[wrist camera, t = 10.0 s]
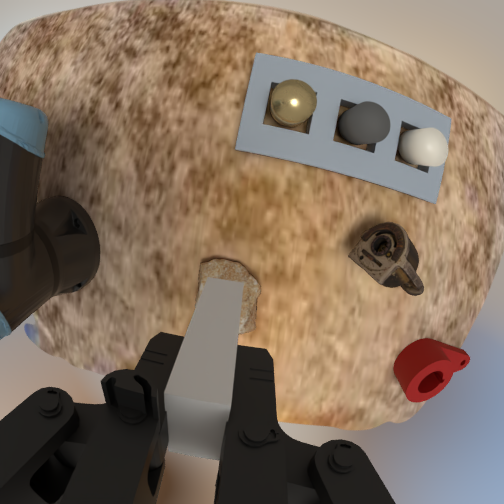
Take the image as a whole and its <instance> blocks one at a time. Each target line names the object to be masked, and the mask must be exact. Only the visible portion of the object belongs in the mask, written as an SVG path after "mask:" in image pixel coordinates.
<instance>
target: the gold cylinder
mask: <svg viewBox="0 0 504 504" xmlns="http://www.w3.org/2000/svg"><path fill="white" fill-rule="evenodd" d="M316 106H317V97H316V94H315V92H314V90H313V89H312V87H311V86H310V85H308V84H307V83H305V82H303V81H301V80H297V79H289V80H285V81H283V82H281V83H279V84H278V85H277V86H276V87H275V89H274V91H273V93H272V98H271V105H270V111H271V115H272V117H273V118H274V119H275V121H276V122H278V123H279V124H281V125H283V126H286V127H295V126H298V125H300V124H302V123H303V122H304V121H305V120H306V119H307V118H309V117H310V116H311V115H312V114H313V112H314V111H315V109H316Z"/></svg>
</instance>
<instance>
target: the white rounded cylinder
mask: <svg viewBox="0 0 504 504" xmlns="http://www.w3.org/2000/svg"><path fill="white" fill-rule="evenodd" d="M398 149H399V153H400V155H401V157H402V158H403V159H404V160H405V161H406V162H407V163H409V164H413V165H423V166H433V167H437V166H440V165H442V164H443V163H444V162H445V160H446V158H447V156H448V144H447V141H446V138H445V137H444V135H443V134H442V133H441V132H440V131H439V130H438V129H435V128H422V129H415V130H408V131H405V132H404V133H403V134H402V135H401V136H400V138H399V141H398Z"/></svg>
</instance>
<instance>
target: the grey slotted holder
mask: <svg viewBox="0 0 504 504" xmlns="http://www.w3.org/2000/svg"><path fill="white" fill-rule="evenodd" d="M289 79H297V80H301V81H303V82H305V83H307V84H308V85H310V86H311V87H312V89H313V90H314V92H315V94H316V97H317V106H316V109H315V111H314V112H313V114H312V115H311V116H310V117H309V119H308V124H307V129H306V134H305V133H301V132H297V131H293V130H288V129H284V128H279V127H274V126H270V125H265V124H263V122H264V118H265V113H266V108H267V104H268V99H269V94H270V90H271V88H273V89H275V87H276V86H277V85H278V84H279V83H281V82H283V81H285V80H289ZM365 101H371V102H375V103H377V104H379V105H380V106H382V107H383V108H384V109H385V111H386V112H387V114H388V116H389V119H390V131H389V134H388V136H387V137H386V138H385V139H384V140H382V141H380V142H377V143H370V144H367V149H366V151H365V150H362V149H359V148H356V147H352V146H349V145H346V144H342V143H339V142H335V141H333V138H334V133H335V128H336V123H337V117H338V112H339V107H340V105H341V106H344V107H348V108H352V107H354V106H356V105H358V104H359V103H362V102H365ZM401 127H403V128H405V129H408V130H415V129H422V128H435V129H438V130H439V131H440V132H441V133H442V134H443V135H444V137H445V138H446V141H447V144H448V141H449V134H450V127H451V118H449V117H447V116H445V115H443V114H441V113H440V112H438V111H436V110H434V109H432V108H430V107H428V106H426V105H424V104H421V103H419V102H417V101H415V100H413V99H411V98H408V97H406V96H404V95H402V94H399V93H397V92H394V91H392V90H390V89H387V88H385V87H382V86H379V85H377V84H374V83H371V82H369V81H366V80H363V79H360V78H357V77H354V76H351V75H348V74H345V73H342V72H338V71H335V70H332V69H328V68H325V67H321V66H317V65H313V64H310V63H305V62H301V61H297V60H293V59H288V58H283V57H278V56H273V55H267V54H262V53H256V56H255V60H254V64H253V68H252V73H251V77H250V81H249V86H248V90H247V95H246V99H245V104H244V108H243V113H242V118H241V122H240V127H239V132H238V137H237V142H236V147H235V150H238V151H243V152H249V153H254V154H259V155H264V156H269V157H274V158H278V159H283V160H288V161H292V162H296V163H301V164H305V165H309V166H313V167H317V168H321V169H325V170H329V171H332V172H336V173H340V174H343V175H347V176H351V177H354V178H357V179H361V180H364V181H368V182H371V183H374V184H377V185H381V186H384V187H387V188H390V189H393V190H396V191H399V192H402V193H405V194H408V195H411V196H414V197H416V198H419V199H422V200H425V201H428V202H431V203H434V204H436V201H437V197H438V193H439V189H440V184H441V180H442V175H443V170H444V165H445V162H444V163H443V164H442V165H440V166H437V167H433V166H423V165H418V168H417V169H416V168H413V167H411V166H408V165H405V164H403V163H400V162H397V161H395V156H396V151H397V145H398V140H399V135H400V129H401Z"/></svg>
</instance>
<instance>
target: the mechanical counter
mask: <svg viewBox="0 0 504 504" xmlns="http://www.w3.org/2000/svg"><path fill="white" fill-rule="evenodd" d="M361 238H362V239H361V240H360V242H359V243H358V244H357V245H356V247H355V248H354V249H353V250H352V251H351V252H350V254H349V255H348V257H350V258H351V259H352V260H353V261H354V262H355V263H357V264H358V265H359V266H360V267H361V268H363V269H364V270H365V271H366V272H367V273H368V274H369V275H370V276H371V277H372V278H373V279H374V280H375V281H377V282H378V283H379V284H380V285H383V286H385V287H390V288H393V287H398V286H401V287H402V288H403V290H404V291H406V292H407V293H408V294H410V295H414V296H417V295H420V294H422V293H423V291H424V286H423V283H422V281H421V279H420V278H419V276H418V275H417V273H416V270H417V267H418V263H419V258H418V253H417V250H416V249H415V247H414V245H413V243H412V242H411V240H410V239H409V237H408V235H407V233H406V231H405V230H404V229H403V228H402V227H401V226H400V225H398V224H396V223H393V222H385V223H380V224H378V225H376V226H374V227H372V228H371V229H369V230H368V231H364V232H363V233H362V235H361Z"/></svg>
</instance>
